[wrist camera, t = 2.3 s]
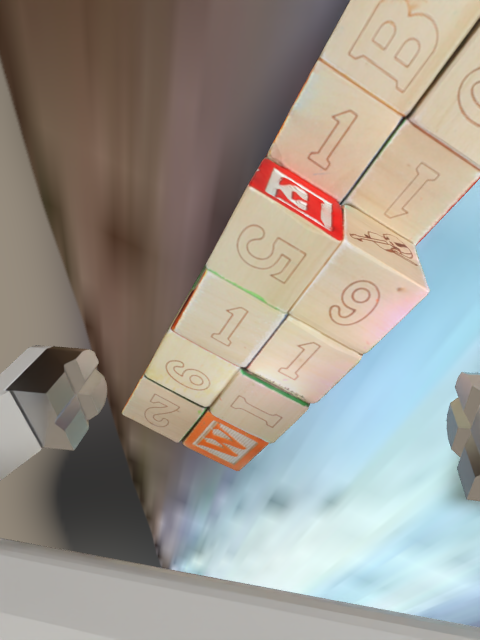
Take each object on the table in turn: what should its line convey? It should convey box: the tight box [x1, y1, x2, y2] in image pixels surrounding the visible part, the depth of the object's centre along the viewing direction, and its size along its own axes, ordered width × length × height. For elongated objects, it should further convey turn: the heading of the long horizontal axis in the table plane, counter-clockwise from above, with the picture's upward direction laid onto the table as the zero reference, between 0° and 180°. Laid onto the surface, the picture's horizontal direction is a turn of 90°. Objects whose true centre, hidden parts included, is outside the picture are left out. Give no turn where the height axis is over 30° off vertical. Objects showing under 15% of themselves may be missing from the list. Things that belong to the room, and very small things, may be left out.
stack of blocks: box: [122, 0, 480, 471], centre depth 16 cm, size 21×6×12 cm, turn 151°
